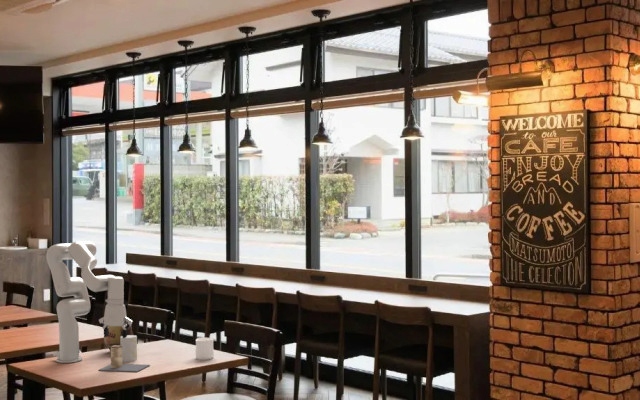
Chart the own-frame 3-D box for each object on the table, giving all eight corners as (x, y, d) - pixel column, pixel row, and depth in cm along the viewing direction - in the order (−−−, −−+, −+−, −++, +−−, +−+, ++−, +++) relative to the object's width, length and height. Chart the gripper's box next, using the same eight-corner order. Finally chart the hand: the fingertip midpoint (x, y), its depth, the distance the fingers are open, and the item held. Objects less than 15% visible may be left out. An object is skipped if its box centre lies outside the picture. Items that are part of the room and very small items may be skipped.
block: (111, 367, 381) (110, 346, 381) (114, 365, 385) (114, 345, 384) (118, 367, 380) (118, 346, 380) (122, 366, 384) (122, 345, 384)
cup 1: (132, 361, 397) (132, 338, 397) (118, 361, 398) (117, 337, 398) (139, 358, 405) (139, 335, 404) (125, 358, 406) (124, 335, 406)
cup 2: (201, 360, 396) (201, 341, 396) (191, 358, 404) (190, 339, 404) (217, 358, 403) (217, 339, 403) (206, 355, 410) (206, 336, 410)
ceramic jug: (124, 347, 435) (123, 293, 435) (138, 351, 423) (137, 295, 423) (96, 352, 423) (95, 296, 423) (109, 356, 412) (108, 299, 412)
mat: (98, 370, 377) (98, 369, 377) (112, 364, 390) (112, 363, 390) (137, 372, 372) (137, 371, 372) (149, 365, 386) (149, 364, 386)
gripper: (95, 302, 380) (95, 337, 381) (128, 304, 377) (128, 339, 377) (103, 300, 388) (102, 334, 388) (135, 301, 384) (135, 336, 384)
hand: (115, 337), depth 382 cm, fingers open, 9 cm apart
